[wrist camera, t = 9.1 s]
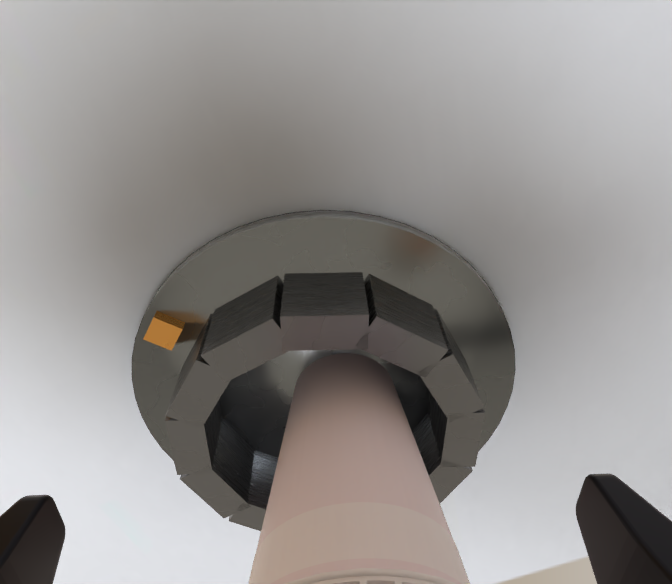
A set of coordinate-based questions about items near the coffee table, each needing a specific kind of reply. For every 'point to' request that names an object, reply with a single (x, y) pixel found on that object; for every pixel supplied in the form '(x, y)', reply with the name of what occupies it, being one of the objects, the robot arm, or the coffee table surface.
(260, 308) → the mount
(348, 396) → the smoothie
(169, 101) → the coffee table surface
